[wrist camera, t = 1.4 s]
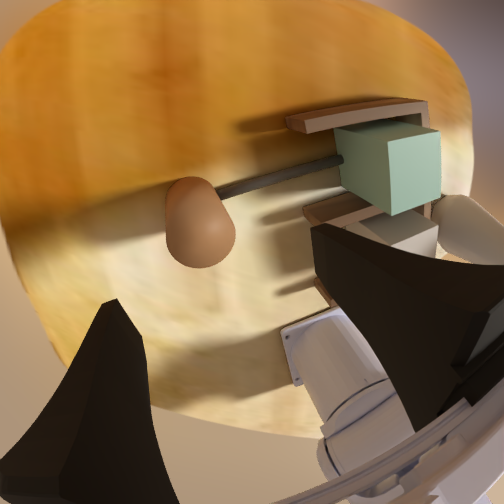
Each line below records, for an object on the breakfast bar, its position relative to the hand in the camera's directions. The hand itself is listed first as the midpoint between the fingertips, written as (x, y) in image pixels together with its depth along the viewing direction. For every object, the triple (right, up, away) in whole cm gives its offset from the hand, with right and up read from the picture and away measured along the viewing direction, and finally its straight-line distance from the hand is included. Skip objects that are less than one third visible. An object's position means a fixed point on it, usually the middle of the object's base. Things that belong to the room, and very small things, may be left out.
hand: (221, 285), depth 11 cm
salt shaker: (+20, +5, +16) cm, 26 cm away
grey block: (+11, +3, +14) cm, 18 cm away
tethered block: (+3, +7, +10) cm, 12 cm away
